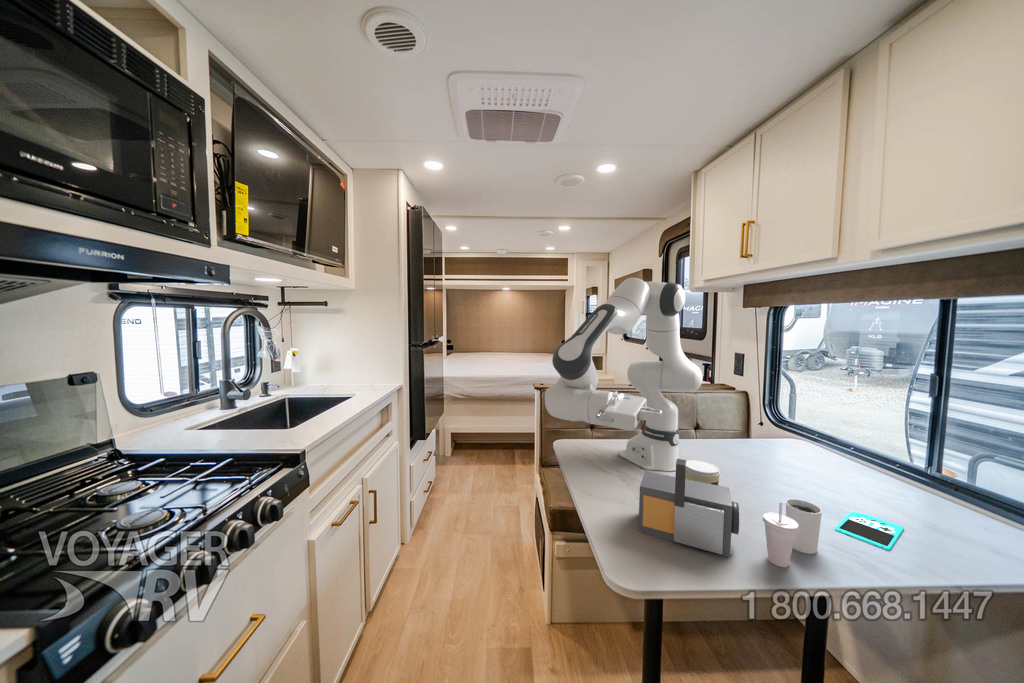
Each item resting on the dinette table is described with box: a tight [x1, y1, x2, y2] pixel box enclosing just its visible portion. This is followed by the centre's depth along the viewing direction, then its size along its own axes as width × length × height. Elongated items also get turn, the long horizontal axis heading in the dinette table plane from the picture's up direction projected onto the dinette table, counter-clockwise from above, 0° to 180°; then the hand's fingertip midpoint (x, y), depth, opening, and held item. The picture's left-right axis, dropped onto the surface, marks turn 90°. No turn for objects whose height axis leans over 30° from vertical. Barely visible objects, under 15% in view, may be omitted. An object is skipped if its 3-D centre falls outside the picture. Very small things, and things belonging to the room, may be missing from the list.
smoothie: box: [762, 501, 799, 568], centre depth 78 cm, size 6×6×14 cm
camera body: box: [638, 470, 740, 558], centre depth 88 cm, size 22×10×12 cm, turn 61°
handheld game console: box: [834, 511, 905, 552], centre depth 90 cm, size 10×16×1 cm, turn 123°
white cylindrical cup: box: [785, 498, 823, 555], centre depth 83 cm, size 7×7×10 cm
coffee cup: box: [685, 459, 721, 486], centre depth 101 cm, size 9×9×12 cm
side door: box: [673, 458, 724, 556], centre depth 80 cm, size 10×4×20 cm, turn 61°
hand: (661, 415), depth 83 cm, fingers closed
